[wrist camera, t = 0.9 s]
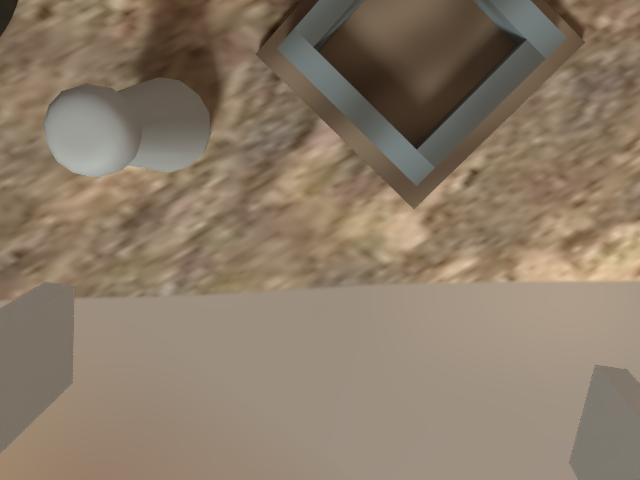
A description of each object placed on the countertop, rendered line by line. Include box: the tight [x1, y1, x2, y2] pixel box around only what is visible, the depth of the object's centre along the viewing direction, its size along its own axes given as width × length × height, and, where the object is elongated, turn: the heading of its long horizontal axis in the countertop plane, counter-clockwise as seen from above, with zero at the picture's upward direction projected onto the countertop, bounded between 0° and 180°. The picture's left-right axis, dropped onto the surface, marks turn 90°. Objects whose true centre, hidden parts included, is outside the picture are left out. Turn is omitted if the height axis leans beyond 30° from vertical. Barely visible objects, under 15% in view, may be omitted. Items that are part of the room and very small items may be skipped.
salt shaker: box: [44, 77, 211, 177], centre depth 33 cm, size 6×6×13 cm
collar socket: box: [256, 0, 585, 209], centre depth 35 cm, size 14×14×4 cm
